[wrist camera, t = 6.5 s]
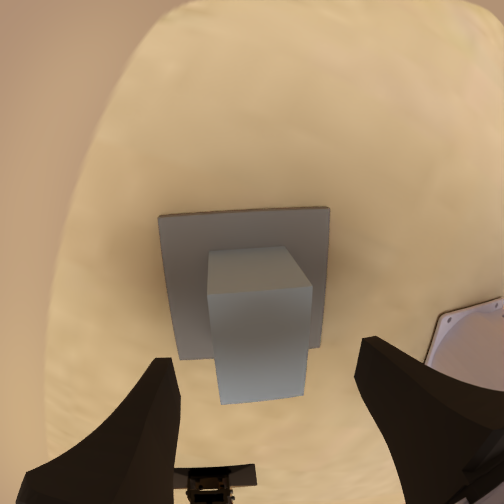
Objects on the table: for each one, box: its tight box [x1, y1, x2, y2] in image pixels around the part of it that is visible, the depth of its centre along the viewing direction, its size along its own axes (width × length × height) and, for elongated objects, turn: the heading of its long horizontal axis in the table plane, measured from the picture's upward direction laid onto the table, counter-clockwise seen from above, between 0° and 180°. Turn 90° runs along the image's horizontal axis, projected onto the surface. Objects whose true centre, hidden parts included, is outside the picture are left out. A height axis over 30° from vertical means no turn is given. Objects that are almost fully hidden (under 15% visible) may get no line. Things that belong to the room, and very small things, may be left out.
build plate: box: [173, 464, 257, 504], centre depth 23 cm, size 12×7×5 cm, turn 93°
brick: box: [207, 246, 313, 405], centre depth 15 cm, size 4×6×5 cm, turn 2°
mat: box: [158, 207, 330, 360], centre depth 17 cm, size 9×9×1 cm
